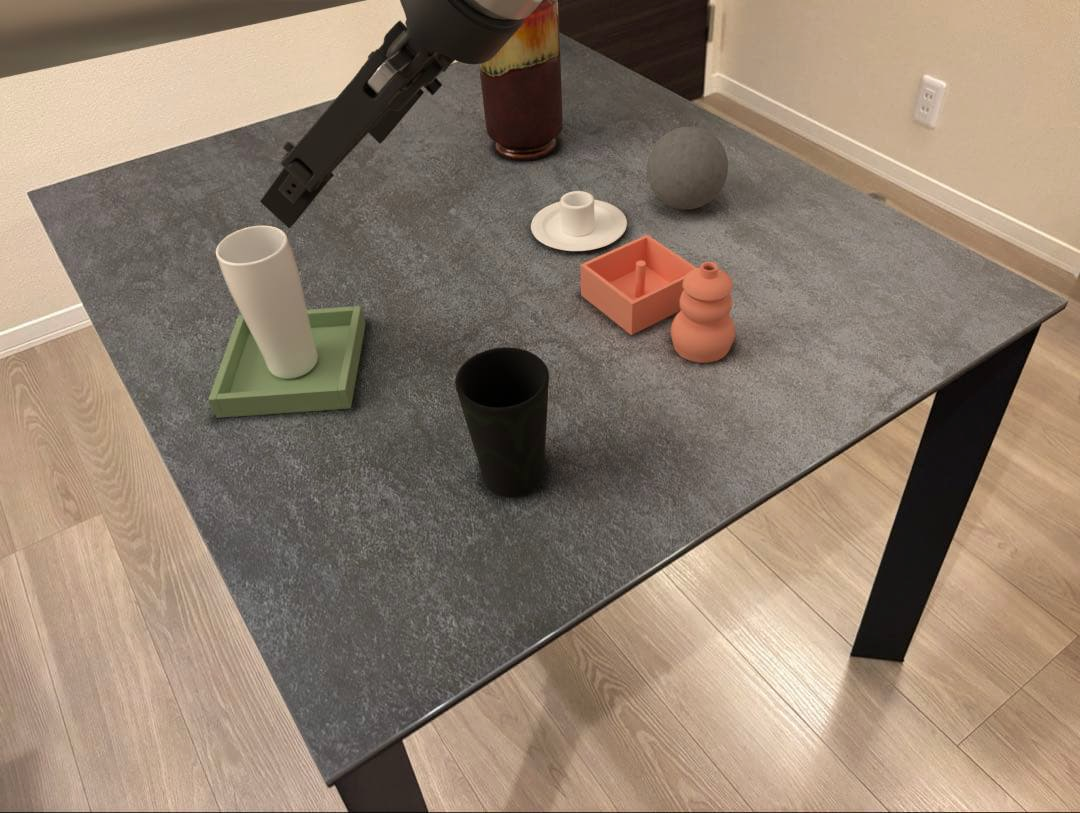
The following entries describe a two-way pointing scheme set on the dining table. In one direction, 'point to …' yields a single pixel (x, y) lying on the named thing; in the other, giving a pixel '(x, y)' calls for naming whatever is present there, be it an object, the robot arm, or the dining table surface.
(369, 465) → the dining table surface
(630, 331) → the pottery
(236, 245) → the drinking glass
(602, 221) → the candle holder
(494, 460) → the cup
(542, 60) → the vase
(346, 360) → the green shallow square tray
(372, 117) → the robot arm
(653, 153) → the decorative ball
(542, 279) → the dining table surface
